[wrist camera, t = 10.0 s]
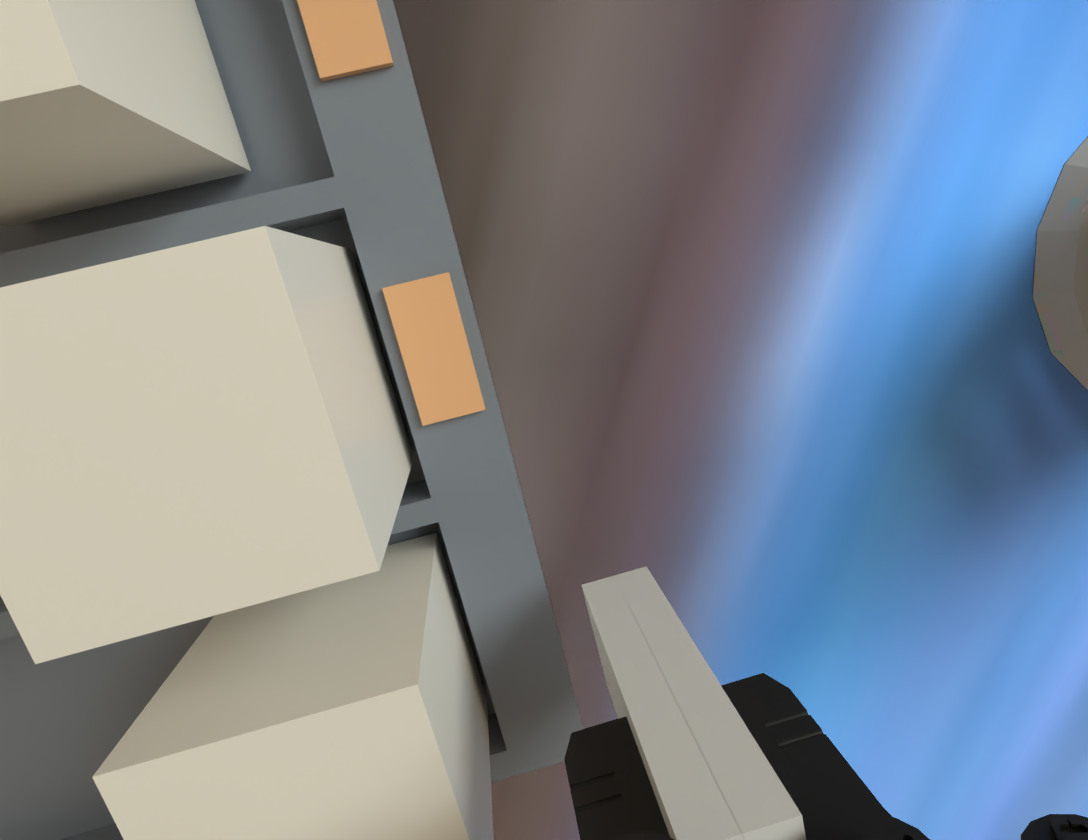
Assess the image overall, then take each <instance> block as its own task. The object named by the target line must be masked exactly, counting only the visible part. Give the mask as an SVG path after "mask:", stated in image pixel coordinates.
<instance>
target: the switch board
mask: <svg viewBox="0 0 1088 840" xmlns="http://www.w3.org/2000/svg"><path fill="white" fill-rule="evenodd" d="M195 3H196V6H197V9H198V12H199V15H200V18H201V21H202V24H203V27H204V30H205V33H206V36H207V39H208V42H209V45H210V48H211V51H212V54H213V57H214V60H215V63H216V66H217V69H218V72H219V76H220V79H221V82H222V85H223V88H224V91H225V94H226V97H227V100H228V103H229V106H230V109H231V112H232V115H233V118H234V121H235V124H236V127H237V130H238V133H239V136H240V139H241V142H242V145H243V148H244V151H245V154H246V157H247V160H248V163H249V166H250V169H251V172H246V173H242V174H238V175H233V176H229V177H224V178H220V179H216V180H211V181H207V182H202V183H198V184H194V185H189V186H185V187H180V188H176V189H172V190H167V191H163V192H159V193H154V194H150V195H145V196H141V197H137V198H132V199H128V200H123V201H119V202H115V203H110V204H106V205H101V206H97V207H93V208H88V209H84V210H79V211H75V212H71V213H66V214H62V215H58V216H53V217H49V218H44V219H40V220H36V221H31V222H27V223H22V224H18V225H14V226H9V225H0V288H1V287H5V286H9V285H14V284H18V283H22V282H27V281H31V280H35V279H39V278H44V277H48V276H52V275H56V274H61V273H65V272H69V271H74V270H78V269H82V268H86V267H91V266H95V265H99V264H104V263H108V262H112V261H116V260H121V259H125V258H129V257H134V256H138V255H142V254H146V253H151V252H155V251H159V250H163V249H168V248H172V247H176V246H181V245H185V244H189V243H193V242H198V241H202V240H206V239H211V238H215V237H219V236H223V235H228V234H232V233H236V232H240V231H245V230H249V229H253V228H258V227H262V226H267V227H271V228H275V229H278V230H282V231H286V232H289V233H293V234H297V235H300V236H304V237H308V238H311V239H315V240H319V241H322V242H326V243H330V244H333V245H337V246H341V247H344V248H348V249H351V252H352V255H353V258H354V262H355V265H356V268H357V271H358V275H359V278H360V281H361V285H362V288H363V291H364V295H365V298H366V301H367V304H368V308H369V311H370V314H371V318H372V321H373V324H374V328H375V331H376V334H377V338H378V341H379V344H380V347H381V351H382V354H383V357H384V361H385V364H386V367H387V371H388V374H389V377H390V380H391V384H392V387H393V390H394V394H395V397H396V400H397V404H398V407H399V410H400V414H401V417H402V420H403V423H404V427H405V430H406V433H407V437H408V440H409V443H410V447H411V450H412V453H413V456H414V460H413V463H412V466H411V469H410V473H409V476H408V479H407V483H406V486H405V489H404V492H403V496H402V499H401V502H400V505H399V509H398V512H397V515H396V519H395V522H394V525H393V528H392V532H391V535H390V538H389V542H388V545H392V544H396V543H399V542H403V541H407V540H410V539H414V538H418V537H422V536H425V535H429V534H433V533H436V532H437V536H438V539H439V542H440V546H441V549H442V552H443V556H444V559H445V562H446V565H447V569H448V572H449V575H450V579H451V582H452V585H453V589H454V592H455V595H456V599H457V602H458V605H459V608H460V612H461V615H462V618H463V622H464V625H465V628H466V632H467V635H468V638H469V641H470V645H471V648H472V651H473V655H474V658H475V661H476V665H477V668H478V671H479V675H480V678H481V681H482V684H483V688H484V691H485V694H486V698H487V708H488V730H489V752H490V774H491V783H493V782H496V781H499V780H503V779H506V778H509V777H513V776H516V775H520V774H523V773H526V772H530V771H533V770H536V769H540V768H543V767H546V766H550V765H553V764H557V763H560V762H563V761H565V760H564V758H565V754H566V751H567V747H568V743H569V740H570V736H571V733H573V732H576V731H579V730H583V726H582V722H581V718H580V714H579V710H578V706H577V702H576V699H575V695H574V691H573V687H572V683H571V679H570V675H569V671H568V668H567V664H566V660H565V656H564V652H563V648H562V645H561V641H560V637H559V633H558V629H557V626H556V622H555V618H554V614H553V610H552V606H551V603H550V599H549V595H548V591H547V587H546V583H545V580H544V576H543V572H542V568H541V564H540V560H539V557H538V553H537V549H536V545H535V541H534V537H533V534H532V530H531V526H530V522H529V518H528V515H527V511H526V507H525V503H524V499H523V495H522V492H521V488H520V484H519V480H518V476H517V472H516V469H515V465H514V461H513V457H512V453H511V449H510V446H509V442H508V438H507V434H506V430H505V427H504V423H503V419H502V415H501V411H500V407H499V404H498V400H497V396H496V392H495V388H494V384H493V381H492V377H491V373H490V369H489V365H488V361H487V358H486V354H485V350H484V346H483V342H482V339H481V335H480V331H479V327H478V323H477V319H476V316H475V312H474V308H473V304H472V300H471V296H470V293H469V289H468V285H467V281H466V277H465V273H464V270H463V266H462V262H461V258H460V254H459V250H458V247H457V243H456V239H455V235H454V231H453V228H452V224H451V220H450V216H449V212H448V208H447V205H446V201H445V197H444V193H443V189H442V185H441V182H440V178H439V174H438V170H437V166H436V162H435V159H434V155H433V151H432V147H431V143H430V140H429V136H428V132H427V128H426V124H425V120H424V117H423V113H422V109H421V105H420V101H419V97H418V94H417V90H416V86H415V82H414V78H413V74H412V71H411V67H410V63H409V59H408V55H407V51H406V48H405V44H404V40H403V36H402V32H401V29H400V25H399V21H398V17H397V13H396V9H395V6H394V2H393V0H195ZM388 545H387V546H388ZM213 617H214V616H211V617H207V618H204V619H200V620H196V621H193V622H189V623H185V624H182V625H178V626H174V627H171V628H167V629H163V630H160V631H156V632H152V633H148V634H145V635H141V636H137V637H134V638H130V639H126V640H123V641H119V642H115V643H112V644H108V645H104V646H101V647H97V648H93V649H90V650H86V651H82V652H79V653H75V654H71V655H68V656H64V657H60V658H57V659H53V660H49V661H45V662H42V663H38V664H35V663H34V661H33V659H32V657H31V655H30V653H29V651H28V649H27V647H26V645H25V643H24V641H23V639H22V637H21V635H20V633H19V631H18V629H17V627H16V625H15V623H14V621H13V619H12V617H11V615H10V613H9V611H8V609H7V607H6V605H5V603H4V601H3V599H2V597H1V596H0V840H124V839H123V837H122V835H121V833H120V831H119V829H118V827H117V825H116V823H115V821H114V819H113V817H112V815H111V813H110V811H109V809H108V807H107V806H106V804H105V802H104V800H103V798H102V796H101V794H100V792H99V790H98V788H97V786H96V784H95V782H94V780H93V778H92V777H93V775H94V774H95V773H96V771H97V770H98V769H99V767H100V766H101V765H102V763H103V762H104V761H105V759H106V758H107V757H108V755H109V754H110V753H111V752H112V750H113V749H114V748H115V746H116V745H117V744H118V742H119V741H120V740H121V738H122V737H123V736H124V734H125V733H126V732H127V730H128V729H129V728H130V726H131V725H132V724H133V723H134V721H135V720H136V719H137V717H138V716H139V715H140V713H141V712H142V711H143V709H144V708H145V707H146V705H147V704H148V703H149V701H150V700H151V699H152V697H153V696H154V695H155V693H156V692H157V691H158V690H159V688H160V687H161V686H162V684H163V683H164V682H165V680H166V679H167V678H168V676H169V675H170V674H171V672H172V671H173V670H174V668H175V667H176V666H177V664H178V663H179V662H180V661H181V659H182V658H183V657H184V655H185V654H186V653H187V651H188V650H189V649H190V647H191V646H192V645H193V643H194V642H195V641H196V639H197V638H198V637H199V635H200V634H201V633H202V631H203V630H204V629H205V628H206V626H207V625H208V624H209V622H210V621H211V620H212V618H213Z"/></svg>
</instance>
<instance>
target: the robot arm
mask: <svg viewBox="0 0 1088 840" xmlns="http://www.w3.org/2000/svg"><path fill="white" fill-rule="evenodd" d="M582 589H583V593H584V597H585V601H586V605H587V609H588V613H589V617H590V621H591V625H592V629H593V633H594V637H595V640H596V644H597V648H598V652H599V656H600V660H601V664H602V668H603V672H604V676H605V680H606V684H607V688H608V691H609V694H610V697H611V700H612V703H613V706H614V709H615V711H616V714H617V717H618V719H616V720H612V721H609V722H606V723H602V724H599V725H596V726H592V727H589V728H586V729H583V730H579V731H576V732H573V733H571V736H570V740H569V743H568V747H567V751H566V754H565V758H564V760H565V765H566V770H567V775H568V780H569V785H570V789H571V794H572V799H573V804H574V809H575V813H576V819H577V824H578V829H579V834H580V839H581V840H930V839H928V838H927V837H926V836H925V835H924V834H923V833H922V832H921V831H920V830H918V829H917V828H915V827H913V826H911V825H909V824H907V823H905V822H903V821H901V820H899V819H897V818H893V817H892V816H891V815H890V814H889V813H888V812H887V811H886V810H885V809H884V808H883V807H882V805H881V804H880V803H879V802H878V800H877V799H876V798H875V797H874V795H873V794H872V793H871V791H870V790H869V789H868V788H867V786H866V785H865V784H864V783H863V781H862V780H861V779H860V778H859V776H858V775H857V774H856V772H855V771H854V770H853V769H852V767H851V766H850V765H849V764H848V762H847V761H846V760H845V759H844V757H843V756H842V755H841V753H840V752H839V751H838V750H837V748H836V747H835V746H834V745H833V743H832V742H831V741H830V739H829V738H828V737H827V736H826V734H823V732H822V729H821V728H820V727H819V726H818V724H817V723H816V722H815V720H814V719H813V718H812V717H811V715H808V713H807V710H806V709H805V708H804V707H803V705H802V704H801V703H800V701H799V700H798V699H797V698H796V696H795V695H794V694H793V693H792V691H791V690H790V689H789V688H788V687H786V686H784V685H783V684H781V683H779V682H778V681H776V680H774V679H773V678H771V677H769V676H767V675H766V674H764V673H762V674H759V675H755V676H752V677H749V678H745V679H742V680H739V681H735V682H732V683H729V684H725V685H722V686H721V685H720V683H719V682H718V680H717V678H716V677H715V675H714V674H713V672H712V670H711V669H710V667H709V666H708V664H707V662H706V661H705V659H704V658H703V656H702V654H701V653H700V651H699V650H698V648H697V646H696V645H695V643H694V642H693V640H692V638H691V637H690V635H689V634H688V632H687V630H686V629H685V627H684V626H683V624H682V622H681V621H680V619H679V618H678V616H677V614H676V613H675V611H674V610H673V608H672V606H671V605H670V603H669V602H668V600H667V598H666V597H665V595H664V594H663V592H662V590H661V589H660V587H659V586H658V584H657V582H656V581H655V579H654V578H653V576H652V574H651V573H650V571H649V570H648V568H647V566H646V567H643V568H639V569H636V570H632V571H629V572H625V573H622V574H618V575H615V576H611V577H608V578H604V579H601V580H597V581H594V582H590V583H587V584H583V585H582ZM1021 840H1088V818H1087V817H1083V816H1079V815H1075V814H1049V815H1047V816H1044V817H1041V818H1039V819H1036V820H1034V821H1031V822H1030V824H1029V825H1028V826H1027V828H1026V829H1025V830H1024V832H1023V833H1022V834H1021Z"/></svg>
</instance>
